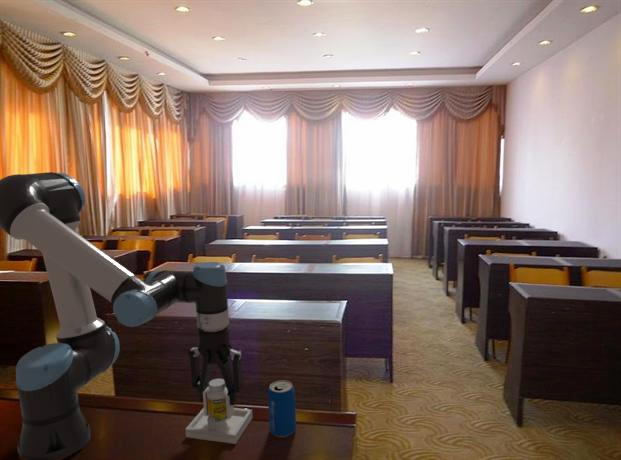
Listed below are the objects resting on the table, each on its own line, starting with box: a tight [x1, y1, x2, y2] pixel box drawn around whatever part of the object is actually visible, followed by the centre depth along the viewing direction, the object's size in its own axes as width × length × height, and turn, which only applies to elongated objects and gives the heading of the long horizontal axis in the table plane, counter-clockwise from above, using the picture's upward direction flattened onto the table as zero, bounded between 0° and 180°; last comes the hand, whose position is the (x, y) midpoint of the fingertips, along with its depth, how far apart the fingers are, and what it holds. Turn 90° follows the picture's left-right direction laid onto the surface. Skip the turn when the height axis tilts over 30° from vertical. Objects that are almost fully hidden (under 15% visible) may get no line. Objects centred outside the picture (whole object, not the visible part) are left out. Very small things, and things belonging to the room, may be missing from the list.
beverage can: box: [267, 379, 297, 438], centre depth 110 cm, size 6×6×12 cm
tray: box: [185, 407, 253, 445], centre depth 113 cm, size 13×11×5 cm
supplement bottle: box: [207, 378, 228, 423], centre depth 113 cm, size 5×5×10 cm
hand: (219, 414), depth 113 cm, fingers closed on supplement bottle, 5 cm apart
